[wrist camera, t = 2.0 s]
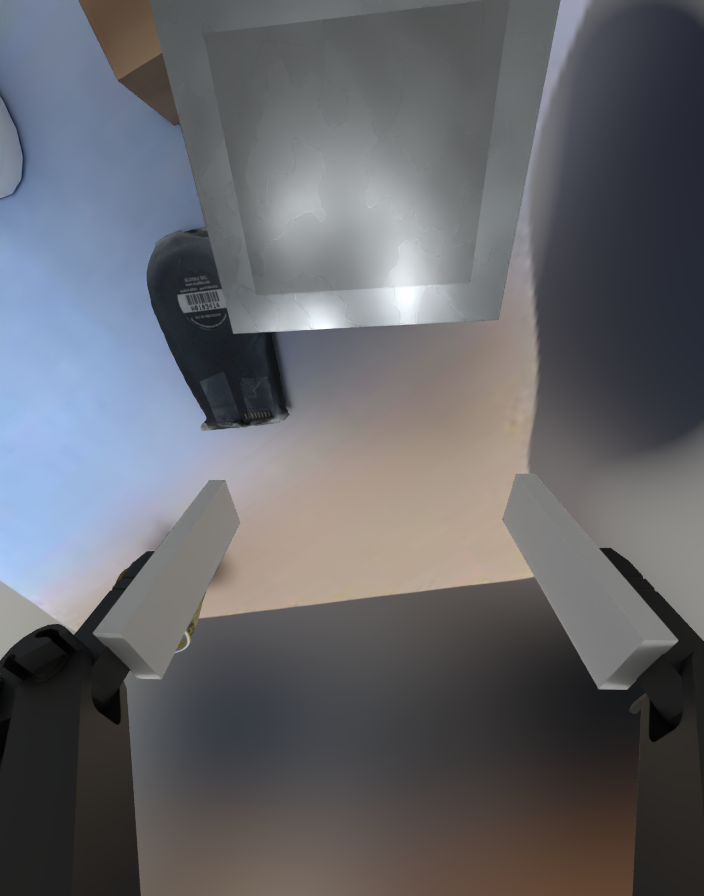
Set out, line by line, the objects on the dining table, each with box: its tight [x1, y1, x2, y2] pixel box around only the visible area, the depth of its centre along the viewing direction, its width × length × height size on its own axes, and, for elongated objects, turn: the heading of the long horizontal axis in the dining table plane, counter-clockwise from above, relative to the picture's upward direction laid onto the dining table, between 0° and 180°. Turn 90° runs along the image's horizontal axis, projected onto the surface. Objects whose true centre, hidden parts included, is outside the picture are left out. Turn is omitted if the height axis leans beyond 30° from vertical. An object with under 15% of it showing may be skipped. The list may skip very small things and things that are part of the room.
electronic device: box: [147, 227, 289, 431], centre depth 24 cm, size 9×6×15 cm
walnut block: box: [78, 0, 180, 126], centre depth 14 cm, size 5×5×5 cm
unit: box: [149, 0, 560, 334], centre depth 15 cm, size 10×12×12 cm
